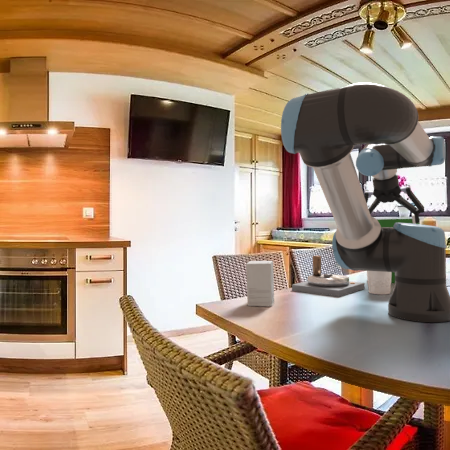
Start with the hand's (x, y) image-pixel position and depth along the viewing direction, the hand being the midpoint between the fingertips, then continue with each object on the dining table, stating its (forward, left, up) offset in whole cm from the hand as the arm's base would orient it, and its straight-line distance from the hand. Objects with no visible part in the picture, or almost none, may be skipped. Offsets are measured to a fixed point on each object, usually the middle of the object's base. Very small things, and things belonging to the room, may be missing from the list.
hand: (393, 232), depth 132 cm
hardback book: (+17, +7, -20) cm, 27 cm away
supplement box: (-44, +22, -20) cm, 53 cm away
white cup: (-7, +2, -20) cm, 21 cm away
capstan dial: (-12, +18, -17) cm, 28 cm away
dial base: (-12, +18, -19) cm, 29 cm away
